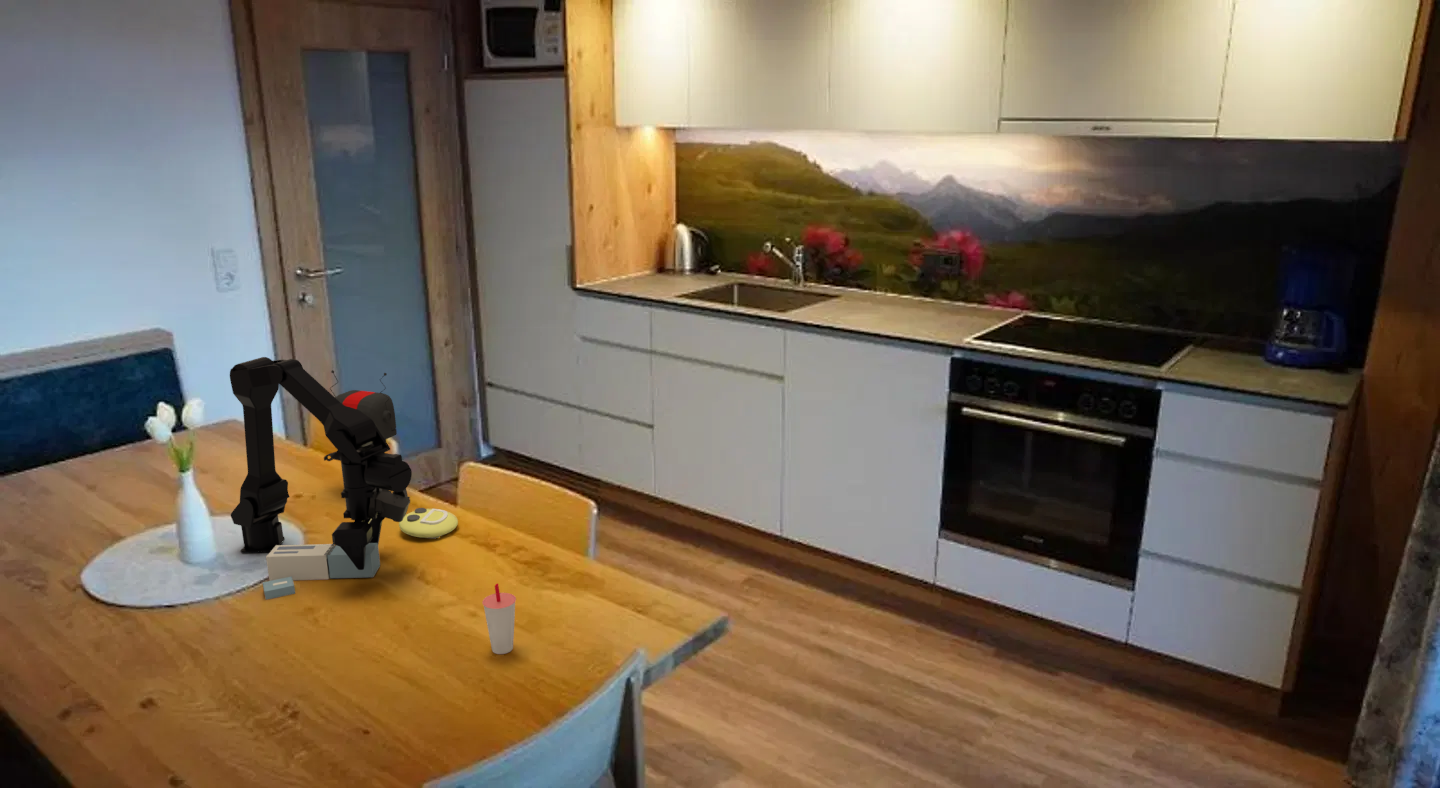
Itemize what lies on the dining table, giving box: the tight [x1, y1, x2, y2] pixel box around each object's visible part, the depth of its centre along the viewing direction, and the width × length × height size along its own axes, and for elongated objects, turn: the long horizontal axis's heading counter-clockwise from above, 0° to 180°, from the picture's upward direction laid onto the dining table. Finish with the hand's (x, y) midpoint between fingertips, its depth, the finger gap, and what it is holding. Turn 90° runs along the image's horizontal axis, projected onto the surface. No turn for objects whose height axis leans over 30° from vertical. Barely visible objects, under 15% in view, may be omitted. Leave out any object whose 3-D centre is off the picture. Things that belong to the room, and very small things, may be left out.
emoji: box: [398, 507, 459, 539], centre depth 205 cm, size 4×12×12 cm
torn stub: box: [262, 577, 296, 600], centre depth 180 cm, size 5×4×2 cm
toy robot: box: [323, 370, 398, 492], centre depth 220 cm, size 22×9×30 cm, turn 71°
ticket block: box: [265, 543, 335, 581], centre depth 186 cm, size 11×5×5 cm, turn 93°
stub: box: [327, 543, 381, 579], centre depth 186 cm, size 8×5×5 cm, turn 93°
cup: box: [482, 583, 517, 655], centre depth 159 cm, size 5×5×12 cm
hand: (368, 558), depth 187 cm, fingers open, 9 cm apart
